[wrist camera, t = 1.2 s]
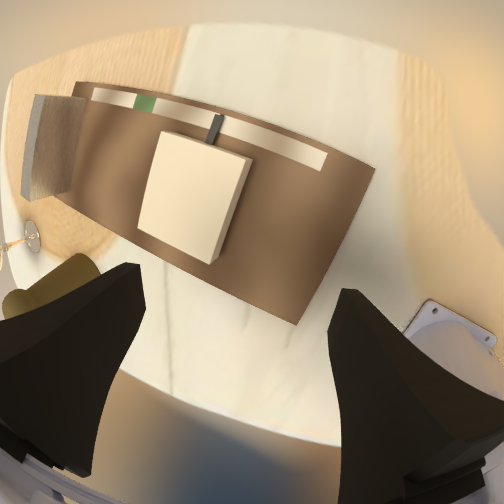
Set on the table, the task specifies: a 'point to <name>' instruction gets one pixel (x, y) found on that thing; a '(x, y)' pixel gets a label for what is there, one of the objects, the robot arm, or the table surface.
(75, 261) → the cork
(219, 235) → the carriage
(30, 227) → the wineglass
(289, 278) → the gauge base
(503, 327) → the table surface
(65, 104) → the gray stone tile
